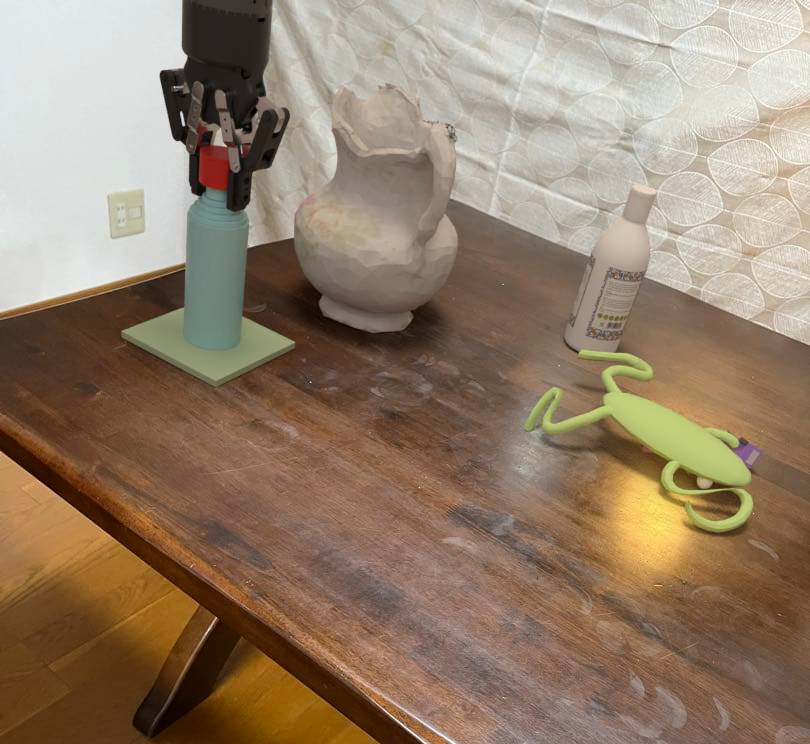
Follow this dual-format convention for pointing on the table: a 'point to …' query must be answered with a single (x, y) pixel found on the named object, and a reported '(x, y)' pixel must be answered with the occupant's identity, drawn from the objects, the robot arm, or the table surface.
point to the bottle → (214, 272)
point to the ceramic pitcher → (380, 212)
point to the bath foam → (612, 278)
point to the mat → (205, 364)
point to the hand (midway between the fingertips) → (219, 200)
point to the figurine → (664, 437)
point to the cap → (214, 167)
